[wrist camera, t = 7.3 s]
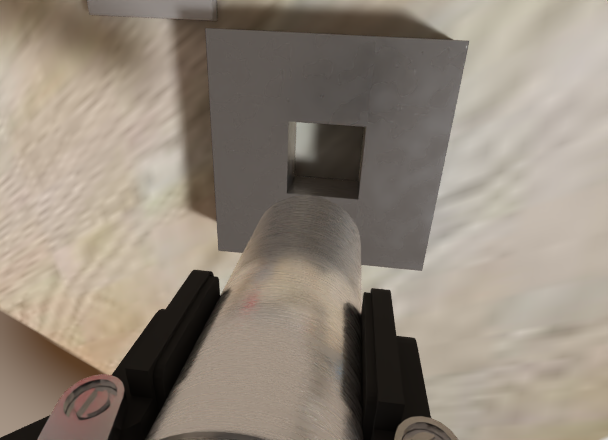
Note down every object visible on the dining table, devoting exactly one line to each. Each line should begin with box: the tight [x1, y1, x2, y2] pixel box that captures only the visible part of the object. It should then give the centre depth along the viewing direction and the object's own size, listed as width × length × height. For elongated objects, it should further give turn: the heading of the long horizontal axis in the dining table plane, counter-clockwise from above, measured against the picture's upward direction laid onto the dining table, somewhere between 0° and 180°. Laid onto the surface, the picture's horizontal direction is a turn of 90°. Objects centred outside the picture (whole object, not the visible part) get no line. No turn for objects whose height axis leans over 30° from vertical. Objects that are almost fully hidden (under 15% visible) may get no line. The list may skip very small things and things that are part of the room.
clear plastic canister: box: [145, 195, 364, 440], centre depth 11 cm, size 5×5×11 cm
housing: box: [205, 28, 469, 271], centre depth 29 cm, size 16×16×4 cm
